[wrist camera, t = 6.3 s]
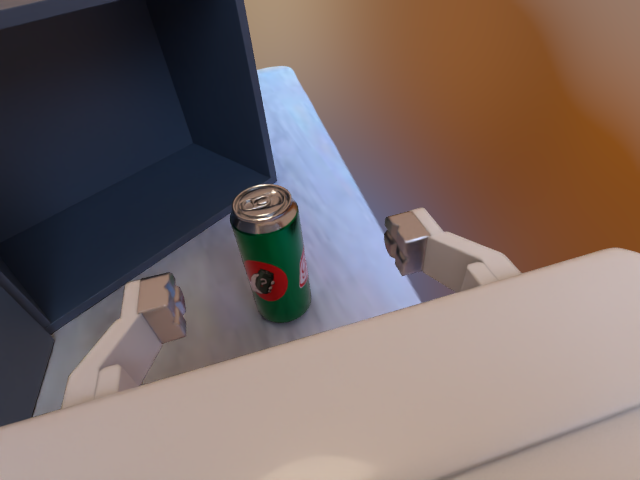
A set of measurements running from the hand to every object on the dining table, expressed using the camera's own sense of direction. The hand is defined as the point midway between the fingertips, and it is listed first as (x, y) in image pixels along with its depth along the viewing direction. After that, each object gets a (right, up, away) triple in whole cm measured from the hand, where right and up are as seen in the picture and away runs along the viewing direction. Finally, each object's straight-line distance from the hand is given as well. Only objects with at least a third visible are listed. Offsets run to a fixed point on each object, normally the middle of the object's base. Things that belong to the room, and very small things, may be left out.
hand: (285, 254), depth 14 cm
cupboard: (-21, +4, +33) cm, 39 cm away
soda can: (-2, -5, +21) cm, 22 cm away
